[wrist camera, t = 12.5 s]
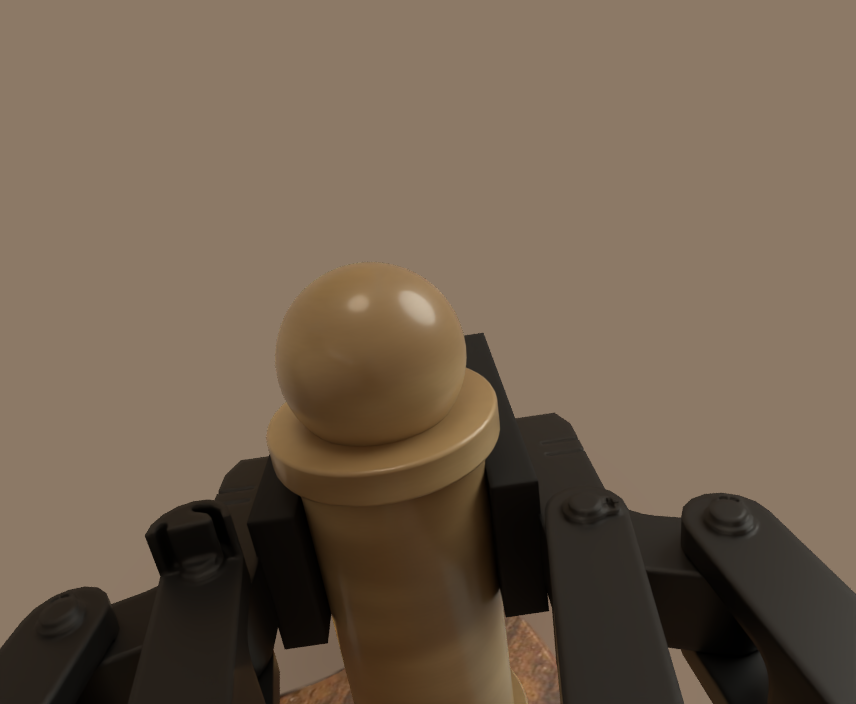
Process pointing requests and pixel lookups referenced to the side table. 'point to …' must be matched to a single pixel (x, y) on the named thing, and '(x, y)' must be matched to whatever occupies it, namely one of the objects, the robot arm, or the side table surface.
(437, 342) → the game piece
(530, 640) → the side table surface
